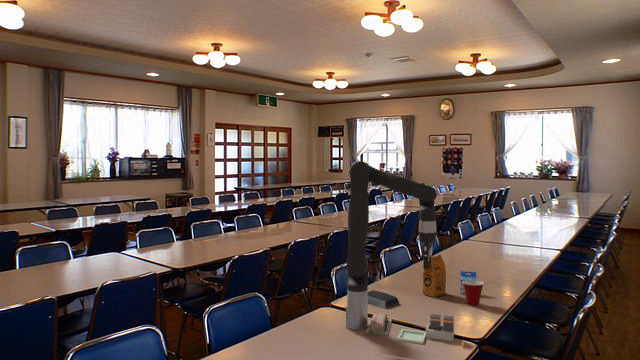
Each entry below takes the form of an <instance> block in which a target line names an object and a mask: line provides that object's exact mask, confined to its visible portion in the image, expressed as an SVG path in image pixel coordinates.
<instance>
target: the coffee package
mask: <svg viewBox="0 0 640 360" xmlns="http://www.w3.org/2000/svg"><path fill="white" fill-rule="evenodd" d="M423 269H424V268H423ZM446 272H447V271H446V264H445V262H444V259H443V257H442V255H441V253H438V254H437V255H436V256H433V255H432V256H431V265H429V269H424V270H423V272H422V290H421V291H422V294H423V295H425V296H427V295H428V297H430V296H431V297H430V298H437V296H439V297H442V296H443V295H445V294H446V291H447V289H446V287H447V284H446V283H447V275H446V274H447V273H446ZM441 295H442V296H441Z"/></svg>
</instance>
